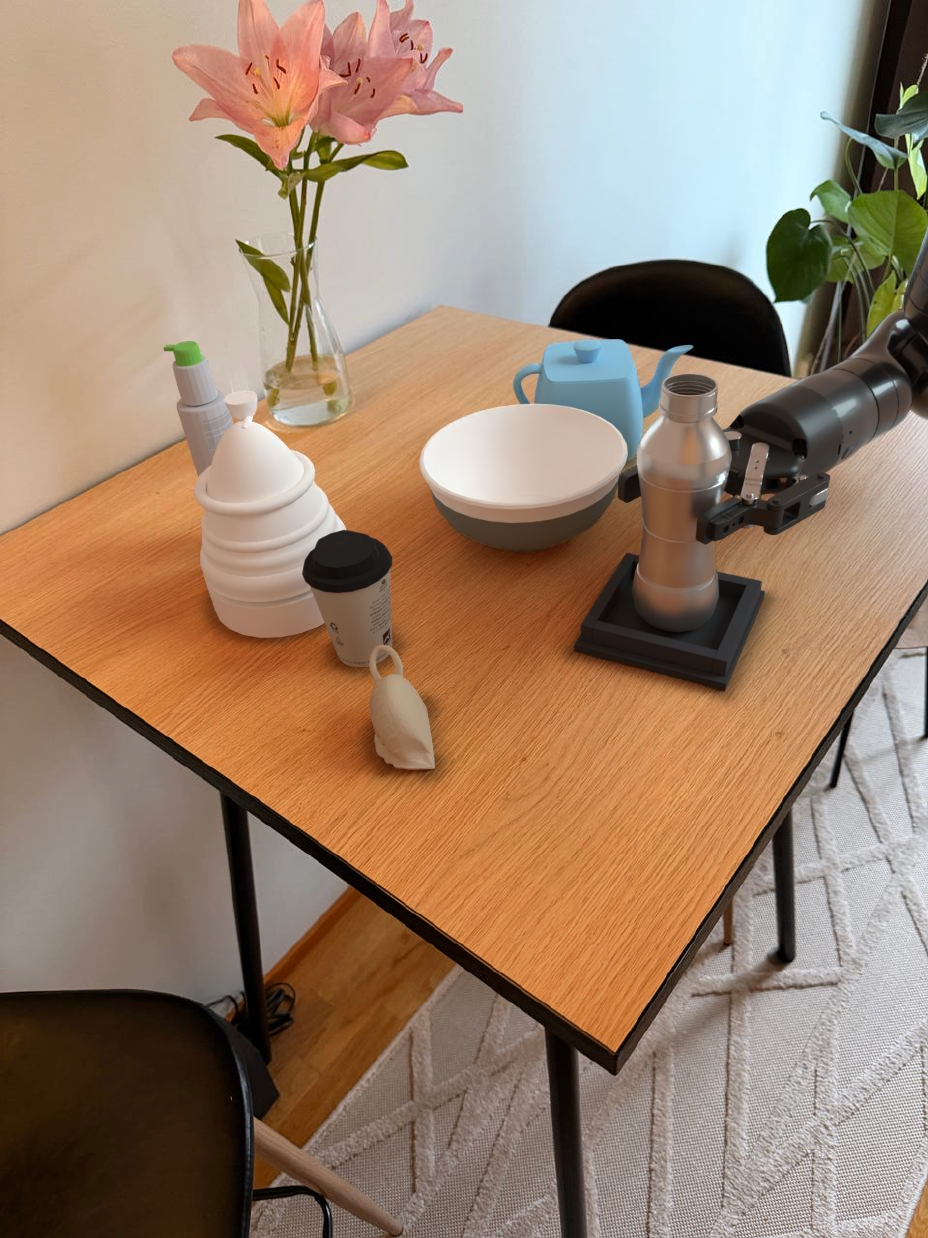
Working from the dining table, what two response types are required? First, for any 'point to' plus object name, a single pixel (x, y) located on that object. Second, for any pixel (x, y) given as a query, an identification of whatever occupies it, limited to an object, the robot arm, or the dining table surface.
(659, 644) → the pad
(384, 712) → the decorative ornament
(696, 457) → the silver metal bottle
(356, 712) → the dining table surface
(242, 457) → the honey pot
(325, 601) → the coffee cup
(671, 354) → the teapot
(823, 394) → the robot arm
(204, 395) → the bottle
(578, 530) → the bowl
